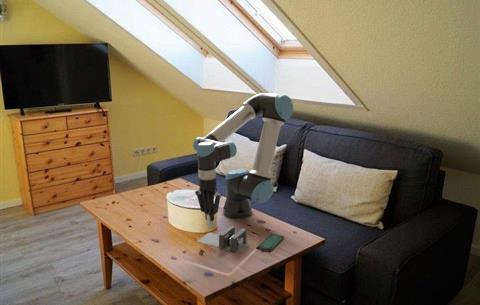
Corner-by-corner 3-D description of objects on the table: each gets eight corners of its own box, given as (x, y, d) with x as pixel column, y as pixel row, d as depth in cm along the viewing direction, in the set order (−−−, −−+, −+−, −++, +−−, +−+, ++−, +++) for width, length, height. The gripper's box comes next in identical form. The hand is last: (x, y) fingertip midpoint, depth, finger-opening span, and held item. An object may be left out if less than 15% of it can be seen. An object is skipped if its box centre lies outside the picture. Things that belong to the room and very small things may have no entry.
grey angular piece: (209, 233, 185) (208, 220, 183) (250, 244, 174) (250, 230, 172) (196, 242, 176) (196, 228, 175) (239, 254, 166) (239, 239, 164)
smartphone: (255, 246, 171) (270, 232, 183) (255, 249, 171) (270, 235, 184) (270, 250, 167) (284, 236, 180) (270, 253, 168) (284, 238, 180)
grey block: (218, 243, 174) (218, 235, 173) (223, 240, 177) (223, 231, 176) (238, 249, 169) (238, 240, 168) (243, 245, 172) (243, 236, 171)
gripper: (190, 178, 171) (193, 227, 178) (215, 182, 165) (218, 233, 172) (200, 172, 178) (203, 220, 184) (224, 176, 171) (226, 226, 178)
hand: (210, 226), depth 178 cm, fingers closed
